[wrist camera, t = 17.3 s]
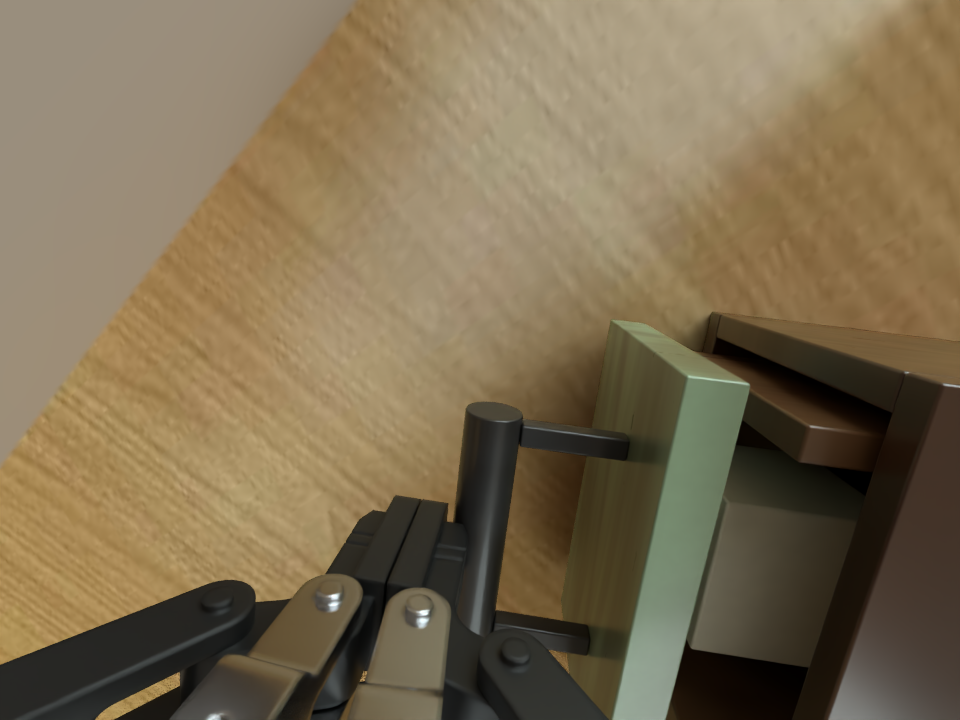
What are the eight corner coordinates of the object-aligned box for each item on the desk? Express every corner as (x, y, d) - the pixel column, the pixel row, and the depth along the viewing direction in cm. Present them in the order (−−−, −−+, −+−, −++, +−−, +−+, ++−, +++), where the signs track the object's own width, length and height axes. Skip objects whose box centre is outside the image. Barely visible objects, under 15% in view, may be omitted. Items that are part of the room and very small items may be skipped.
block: (647, 550, 17) (690, 650, 13) (672, 436, 16) (727, 502, 12) (773, 569, 17) (860, 677, 12) (807, 453, 16) (913, 528, 11)
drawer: (455, 584, 19) (412, 798, 12) (488, 304, 17) (460, 346, 9) (913, 656, 18) (1190, 942, 11) (1023, 369, 16) (1495, 479, 8)
